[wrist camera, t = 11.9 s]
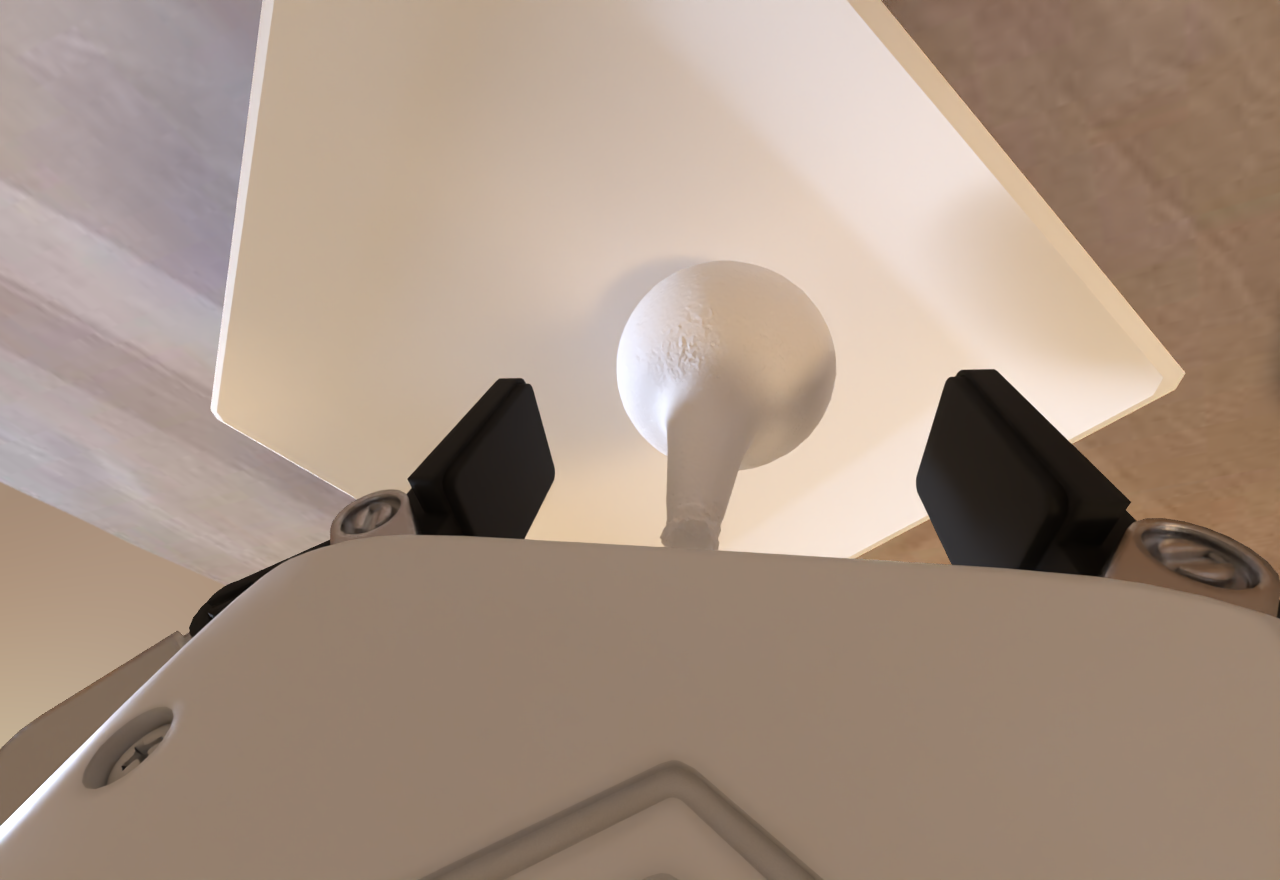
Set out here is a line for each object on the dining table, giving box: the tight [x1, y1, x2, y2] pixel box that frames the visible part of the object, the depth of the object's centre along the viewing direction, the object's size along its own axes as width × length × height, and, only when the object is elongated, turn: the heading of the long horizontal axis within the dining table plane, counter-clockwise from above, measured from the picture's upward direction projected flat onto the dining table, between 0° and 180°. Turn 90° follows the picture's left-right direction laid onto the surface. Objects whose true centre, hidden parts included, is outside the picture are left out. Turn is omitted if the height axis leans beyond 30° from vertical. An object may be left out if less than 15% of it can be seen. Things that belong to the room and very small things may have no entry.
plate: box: [210, 0, 1185, 559], centre depth 18 cm, size 26×26×2 cm
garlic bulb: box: [616, 260, 837, 550], centre depth 12 cm, size 6×6×8 cm
